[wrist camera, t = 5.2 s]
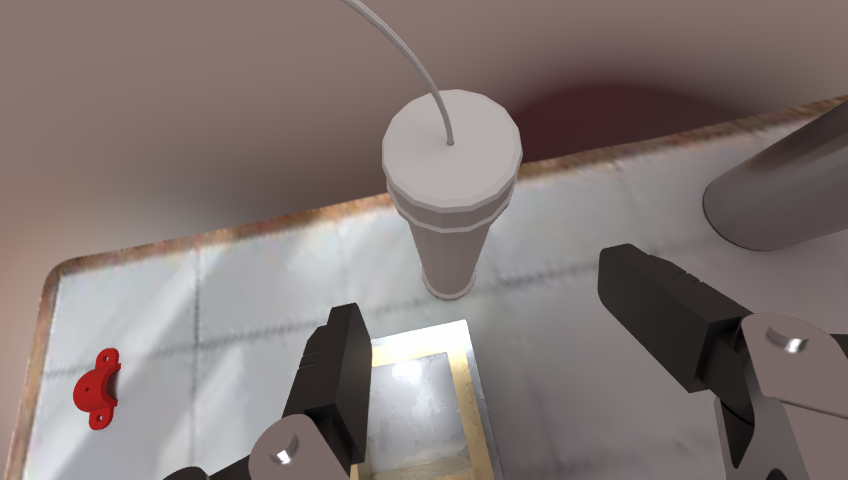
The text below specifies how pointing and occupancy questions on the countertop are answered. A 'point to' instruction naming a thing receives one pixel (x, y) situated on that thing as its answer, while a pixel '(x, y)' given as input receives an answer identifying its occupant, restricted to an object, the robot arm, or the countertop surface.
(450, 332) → the socket
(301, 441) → the robot arm
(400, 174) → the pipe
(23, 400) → the countertop surface
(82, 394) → the pipe clamp
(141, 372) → the countertop surface
